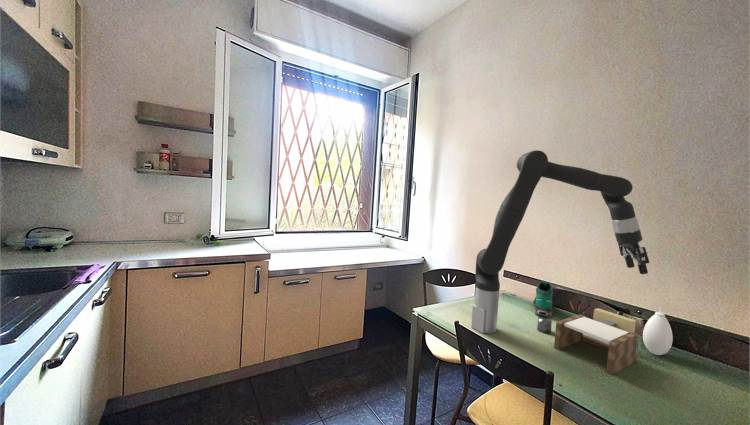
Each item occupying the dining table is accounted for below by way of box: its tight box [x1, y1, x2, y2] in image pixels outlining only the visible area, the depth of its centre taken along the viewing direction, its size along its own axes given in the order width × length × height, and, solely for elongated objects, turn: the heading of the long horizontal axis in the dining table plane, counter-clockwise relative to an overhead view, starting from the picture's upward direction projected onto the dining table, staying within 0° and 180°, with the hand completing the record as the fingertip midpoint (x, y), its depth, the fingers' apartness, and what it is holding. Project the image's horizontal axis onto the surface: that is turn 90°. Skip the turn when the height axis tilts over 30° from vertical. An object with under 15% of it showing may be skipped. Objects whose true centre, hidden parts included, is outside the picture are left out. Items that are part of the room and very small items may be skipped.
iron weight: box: [536, 316, 553, 335], centre depth 122 cm, size 5×5×5 cm
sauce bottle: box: [642, 305, 674, 356], centre depth 107 cm, size 8×8×18 cm
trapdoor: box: [564, 308, 637, 345], centre depth 106 cm, size 22×14×6 cm, turn 119°
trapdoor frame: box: [553, 313, 639, 376], centre depth 105 cm, size 19×18×10 cm
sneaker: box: [533, 281, 555, 319], centre depth 146 cm, size 9×24×15 cm, turn 146°
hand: (637, 270), depth 111 cm, fingers open, 8 cm apart
